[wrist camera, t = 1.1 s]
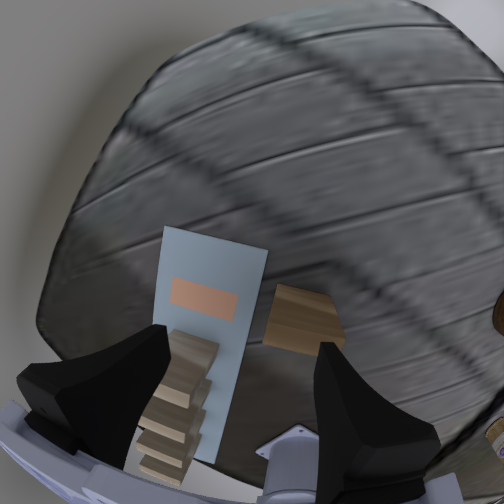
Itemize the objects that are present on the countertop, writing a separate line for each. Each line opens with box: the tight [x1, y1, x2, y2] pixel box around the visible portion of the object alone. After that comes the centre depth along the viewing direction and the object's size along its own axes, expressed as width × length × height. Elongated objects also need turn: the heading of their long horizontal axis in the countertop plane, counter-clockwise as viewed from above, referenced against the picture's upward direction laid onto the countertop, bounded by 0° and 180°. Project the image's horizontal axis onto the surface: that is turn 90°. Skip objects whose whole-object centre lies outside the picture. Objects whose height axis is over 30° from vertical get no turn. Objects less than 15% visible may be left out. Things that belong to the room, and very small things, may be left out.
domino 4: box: [139, 433, 202, 486], centre depth 25 cm, size 2×5×9 cm, turn 77°
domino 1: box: [153, 329, 220, 409], centre depth 22 cm, size 2×5×9 cm, turn 78°
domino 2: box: [138, 378, 212, 443], centre depth 23 cm, size 2×5×9 cm, turn 77°
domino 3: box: [136, 409, 207, 468], centre depth 24 cm, size 2×5×9 cm, turn 78°
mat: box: [153, 225, 269, 464], centre depth 27 cm, size 32×10×1 cm, turn 167°
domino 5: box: [262, 283, 346, 356], centre depth 20 cm, size 2×5×9 cm, turn 77°
